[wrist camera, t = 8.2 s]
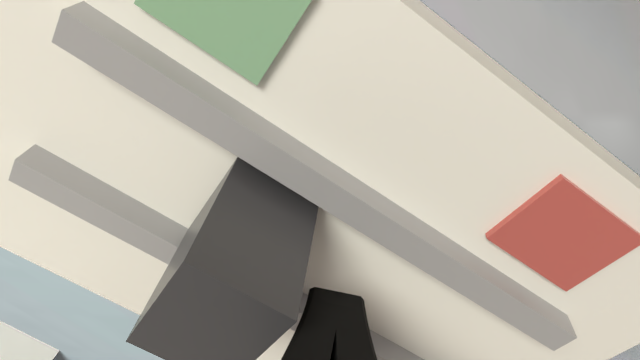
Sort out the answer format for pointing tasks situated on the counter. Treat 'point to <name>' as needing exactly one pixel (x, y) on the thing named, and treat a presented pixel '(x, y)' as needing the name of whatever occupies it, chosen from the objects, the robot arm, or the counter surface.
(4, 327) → the milk
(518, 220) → the slider switch base
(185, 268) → the handle
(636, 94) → the counter surface
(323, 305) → the robot arm
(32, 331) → the counter surface
